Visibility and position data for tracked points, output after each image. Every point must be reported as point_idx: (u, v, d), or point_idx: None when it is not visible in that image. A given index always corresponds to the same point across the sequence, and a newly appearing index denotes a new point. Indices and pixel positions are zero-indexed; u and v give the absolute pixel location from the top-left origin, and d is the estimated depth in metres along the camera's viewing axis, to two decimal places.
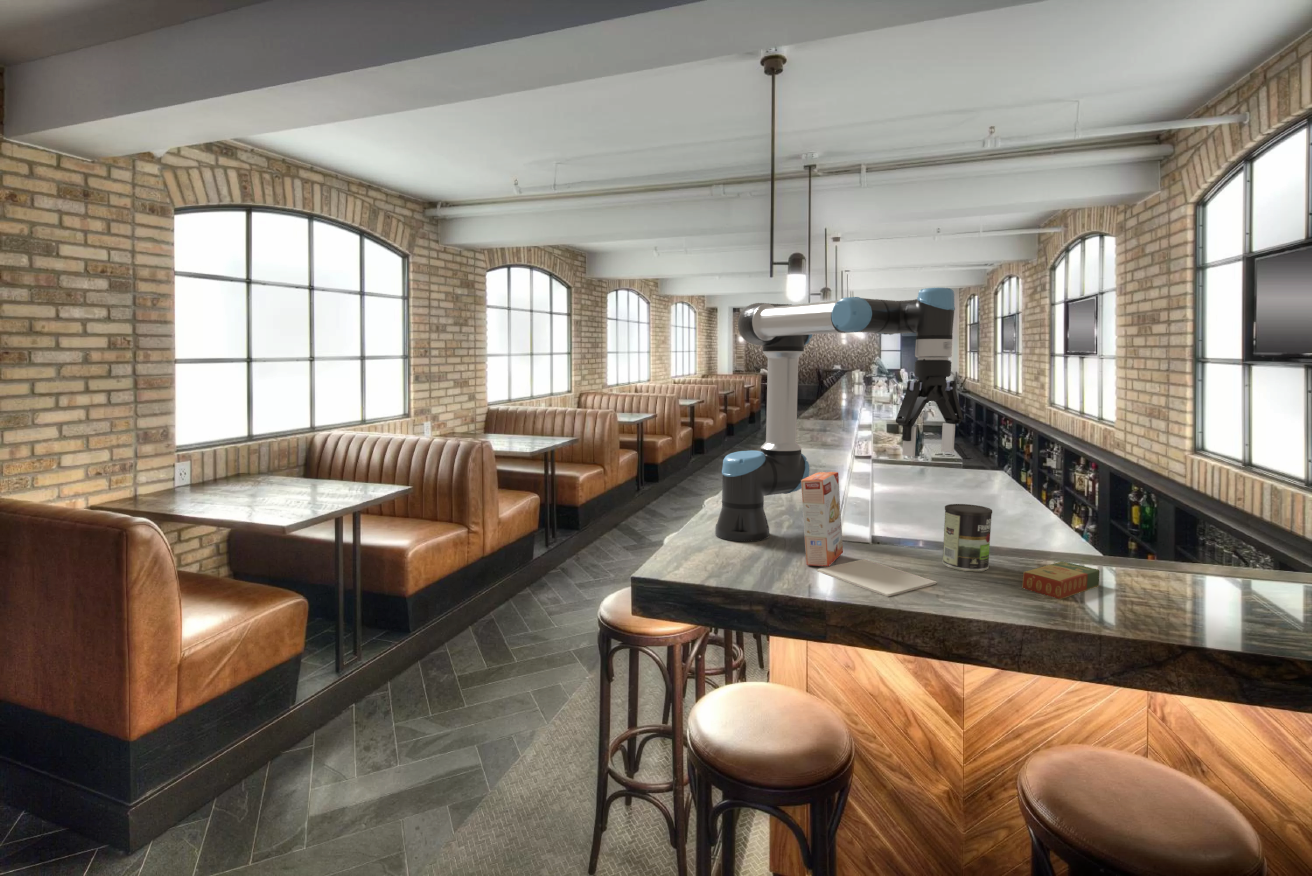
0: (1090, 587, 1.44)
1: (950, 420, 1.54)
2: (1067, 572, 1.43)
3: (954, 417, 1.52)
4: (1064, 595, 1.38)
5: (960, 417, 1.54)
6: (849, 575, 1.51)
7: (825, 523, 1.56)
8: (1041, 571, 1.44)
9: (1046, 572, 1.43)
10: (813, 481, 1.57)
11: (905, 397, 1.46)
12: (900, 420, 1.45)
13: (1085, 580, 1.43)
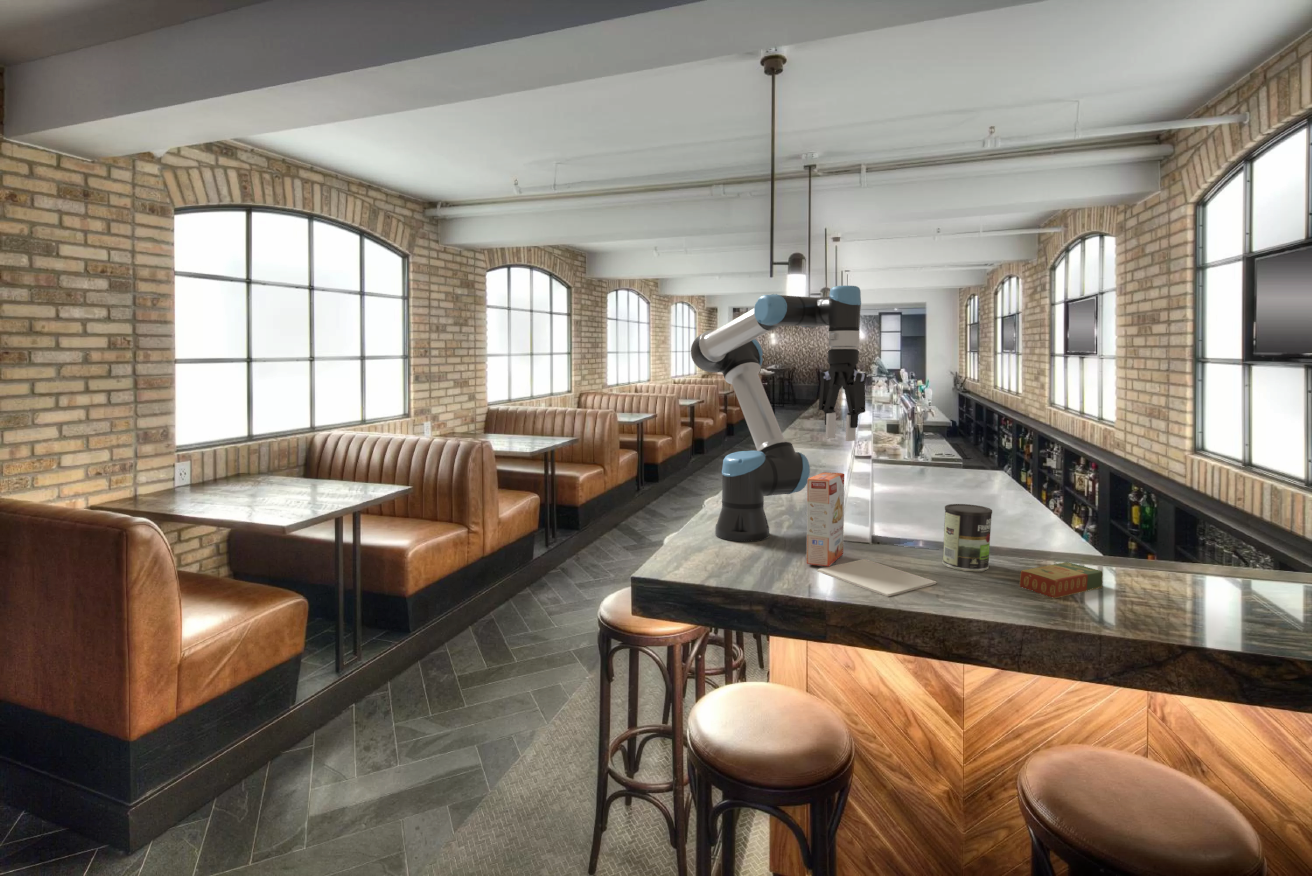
0: (1091, 588, 1.43)
1: None
2: (1066, 572, 1.43)
3: (850, 408, 1.66)
4: (1059, 594, 1.39)
5: (855, 409, 1.65)
6: (849, 575, 1.51)
7: (829, 524, 1.56)
8: (1039, 570, 1.44)
9: (1044, 571, 1.43)
10: (819, 480, 1.56)
11: None
12: None
13: (1085, 580, 1.42)
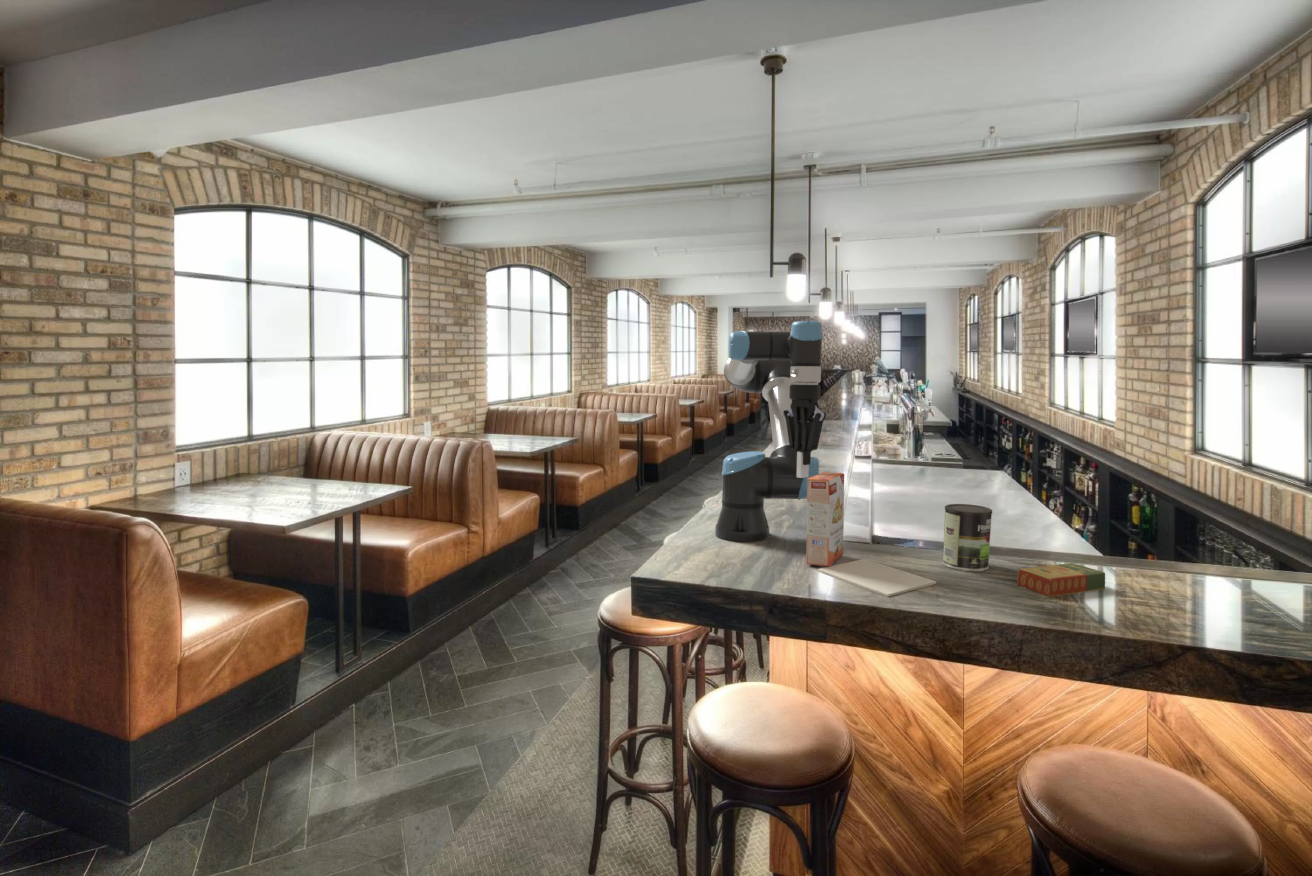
0: (1092, 589, 1.43)
1: None
2: (1065, 572, 1.43)
3: (803, 445, 1.67)
4: (1054, 593, 1.39)
5: (808, 446, 1.65)
6: (849, 575, 1.51)
7: (829, 524, 1.56)
8: (1037, 569, 1.45)
9: (1041, 570, 1.44)
10: (819, 480, 1.56)
11: None
12: None
13: (1084, 581, 1.42)
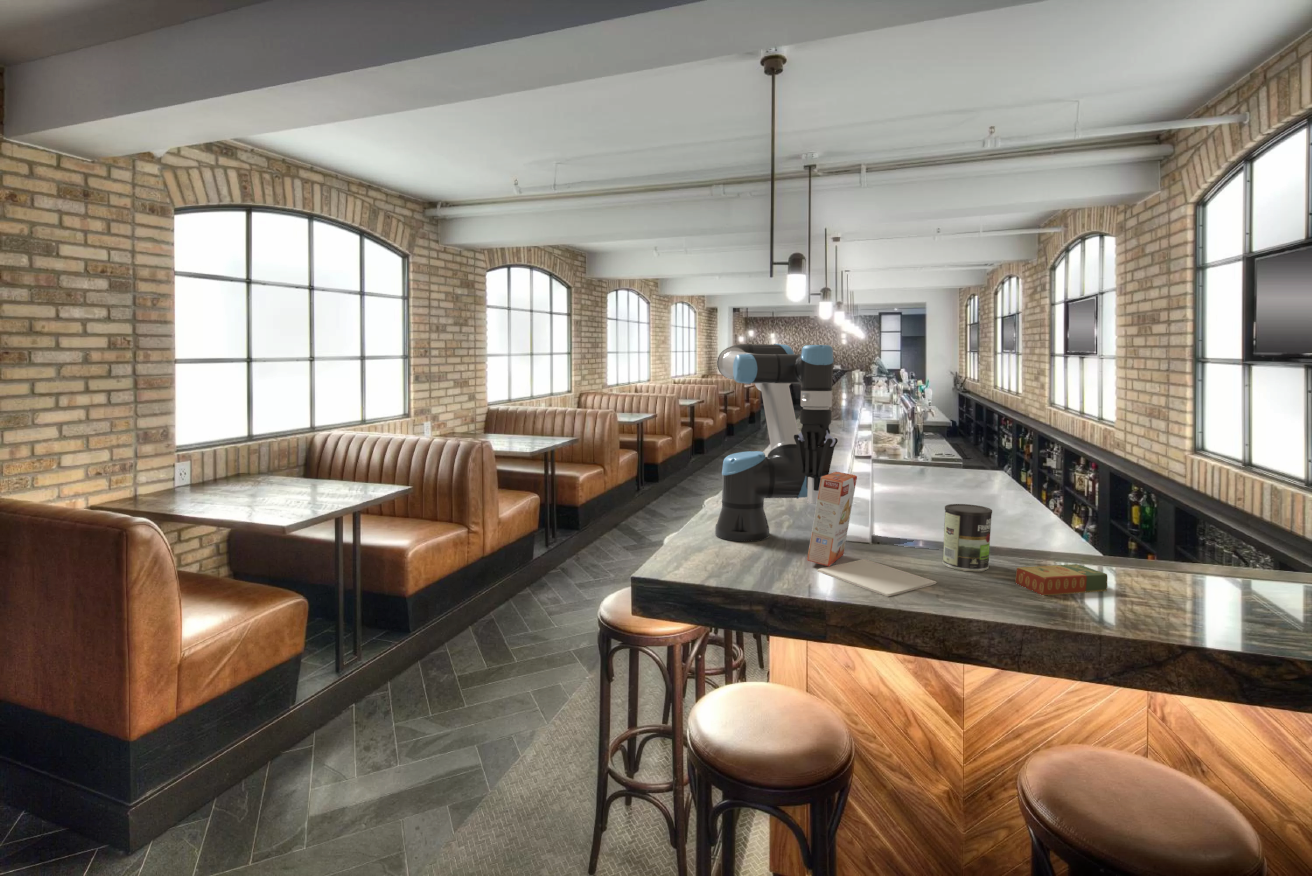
0: (1092, 590, 1.42)
1: None
2: (1064, 572, 1.43)
3: (814, 470, 1.64)
4: (1049, 592, 1.40)
5: (819, 472, 1.62)
6: (849, 575, 1.51)
7: (835, 524, 1.55)
8: (1035, 568, 1.45)
9: (1039, 569, 1.45)
10: (833, 480, 1.55)
11: None
12: None
13: (1084, 581, 1.42)
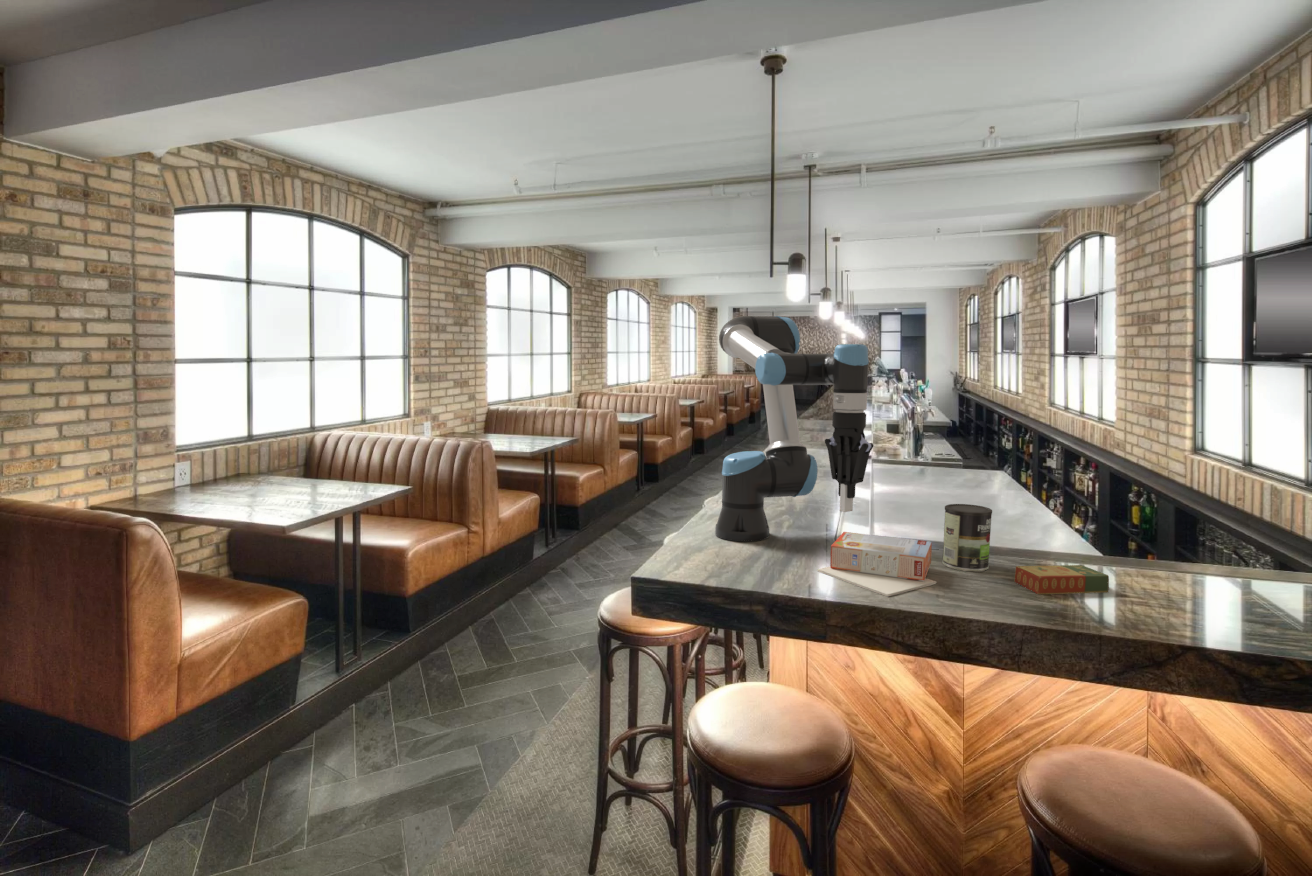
0: (1091, 591, 1.42)
1: None
2: (1063, 572, 1.43)
3: (847, 477, 1.55)
4: (1044, 591, 1.41)
5: (853, 479, 1.54)
6: (849, 575, 1.51)
7: (875, 573, 1.51)
8: (1034, 567, 1.46)
9: (1038, 569, 1.45)
10: (923, 570, 1.46)
11: None
12: None
13: (1082, 582, 1.41)
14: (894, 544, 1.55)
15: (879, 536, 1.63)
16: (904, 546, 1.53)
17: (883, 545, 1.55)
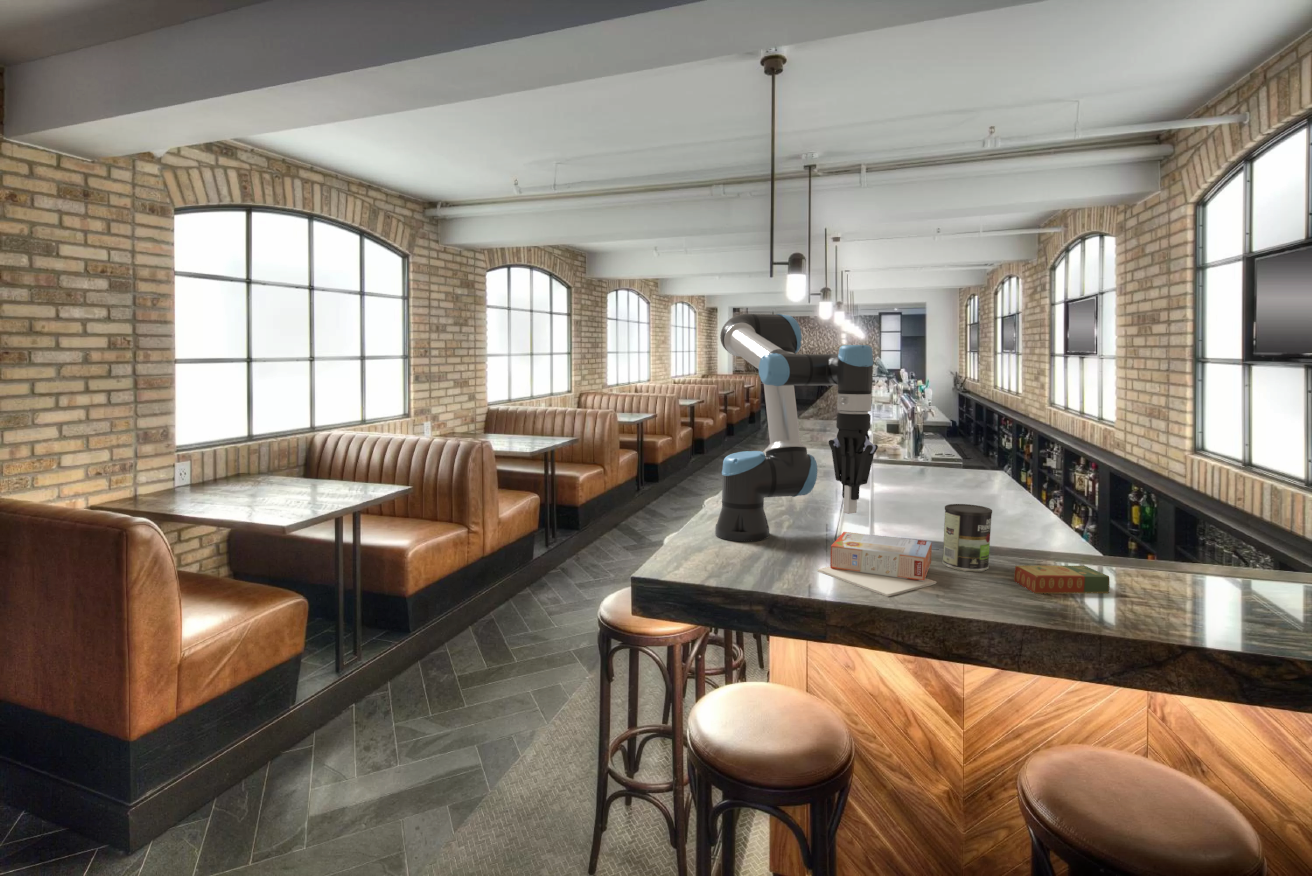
0: (1091, 591, 1.41)
1: None
2: (1062, 572, 1.43)
3: (852, 479, 1.54)
4: (1041, 590, 1.41)
5: (857, 480, 1.53)
6: (849, 575, 1.51)
7: (875, 573, 1.51)
8: (1033, 567, 1.46)
9: (1037, 568, 1.46)
10: (923, 570, 1.46)
11: None
12: None
13: (1081, 582, 1.41)
14: (894, 544, 1.55)
15: (879, 536, 1.63)
16: (904, 546, 1.53)
17: (883, 545, 1.55)
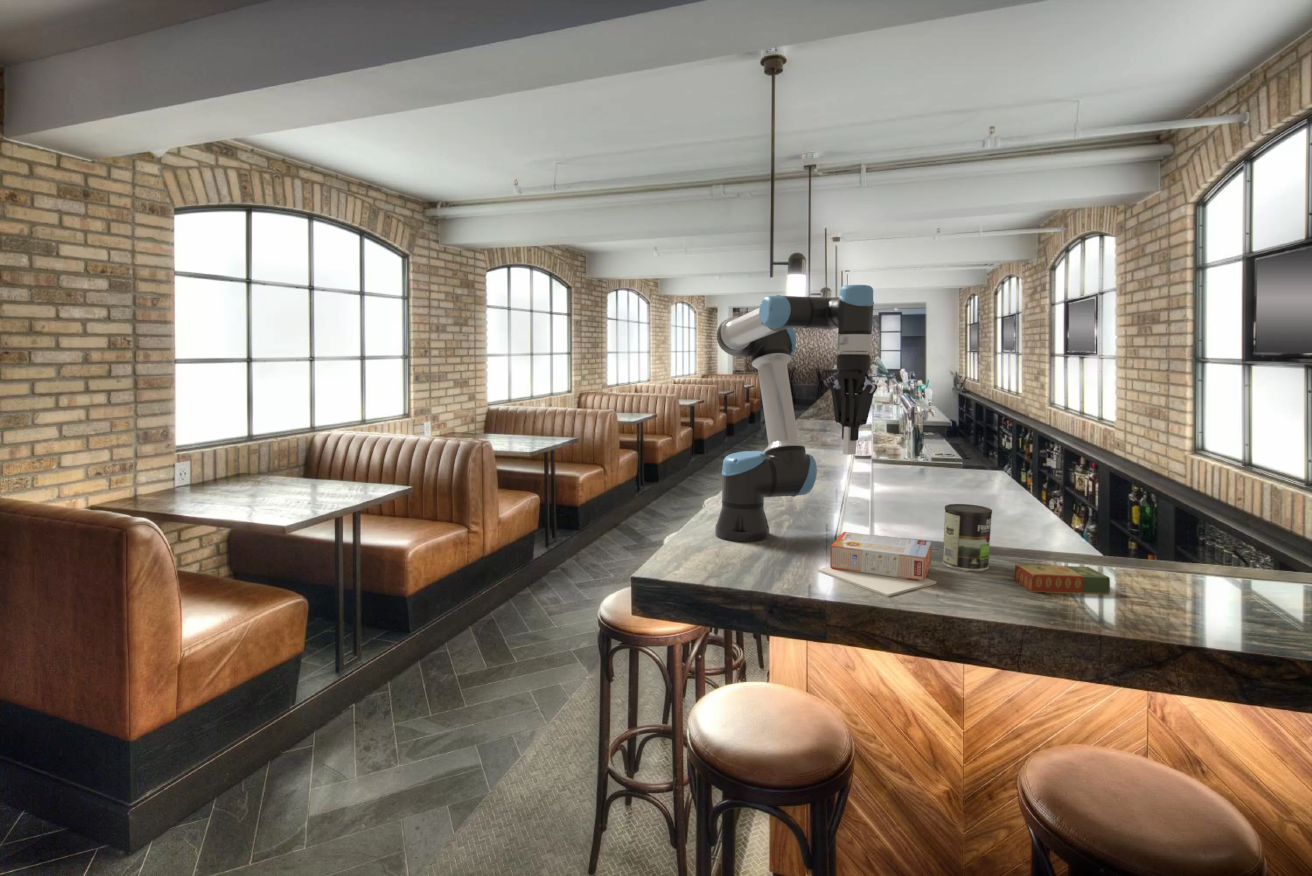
0: (1090, 592, 1.41)
1: None
2: (1061, 571, 1.43)
3: (851, 419, 1.55)
4: (1038, 589, 1.42)
5: (856, 421, 1.54)
6: (849, 575, 1.51)
7: (875, 573, 1.51)
8: (1033, 566, 1.47)
9: (1036, 568, 1.46)
10: (923, 570, 1.46)
11: None
12: None
13: (1080, 582, 1.41)
14: (894, 544, 1.55)
15: (879, 536, 1.63)
16: (904, 546, 1.53)
17: (883, 545, 1.55)
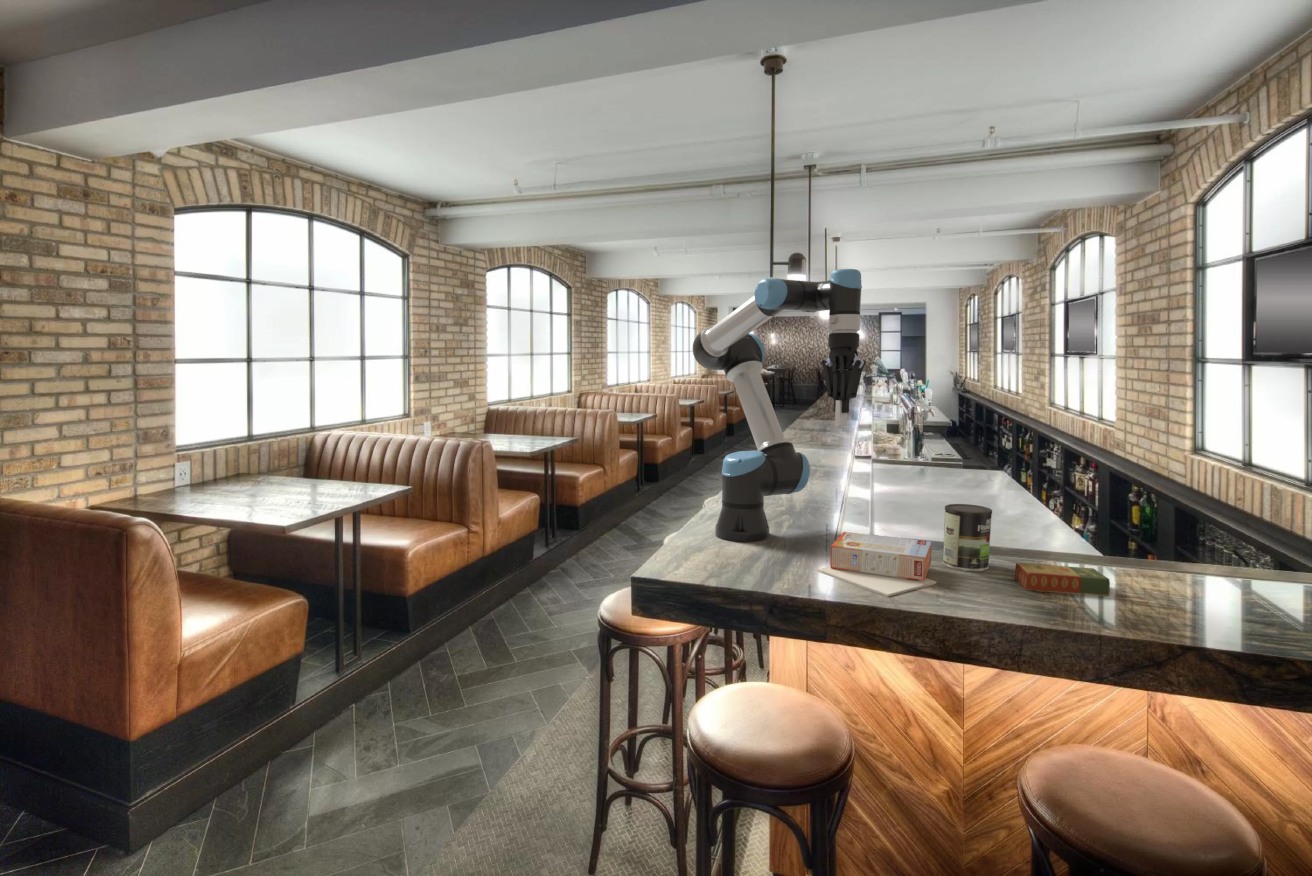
0: (1088, 593, 1.40)
1: None
2: (1059, 571, 1.44)
3: (842, 393, 1.68)
4: (1033, 588, 1.43)
5: (847, 394, 1.67)
6: (849, 575, 1.51)
7: (875, 573, 1.51)
8: (1033, 565, 1.48)
9: (1035, 567, 1.47)
10: (923, 570, 1.46)
11: None
12: None
13: (1077, 583, 1.41)
14: (894, 544, 1.55)
15: (879, 536, 1.63)
16: (904, 546, 1.53)
17: (883, 545, 1.55)
